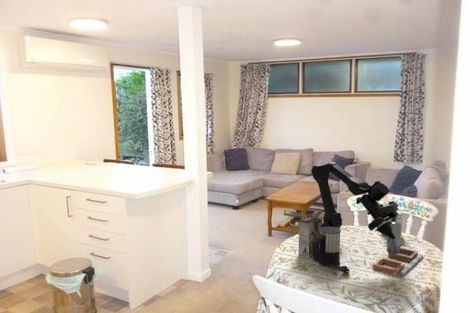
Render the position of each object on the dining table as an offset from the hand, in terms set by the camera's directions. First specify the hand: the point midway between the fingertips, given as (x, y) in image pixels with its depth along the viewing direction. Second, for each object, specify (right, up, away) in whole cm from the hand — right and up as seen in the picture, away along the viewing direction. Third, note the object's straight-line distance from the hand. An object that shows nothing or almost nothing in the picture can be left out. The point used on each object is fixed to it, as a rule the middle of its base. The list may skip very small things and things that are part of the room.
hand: (397, 237), depth 152 cm
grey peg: (-1, -6, +2) cm, 7 cm away
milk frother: (-26, -13, +2) cm, 29 cm away
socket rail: (+3, -12, +5) cm, 13 cm away
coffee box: (-33, -11, +16) cm, 38 cm away
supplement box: (+14, -8, +40) cm, 43 cm away
